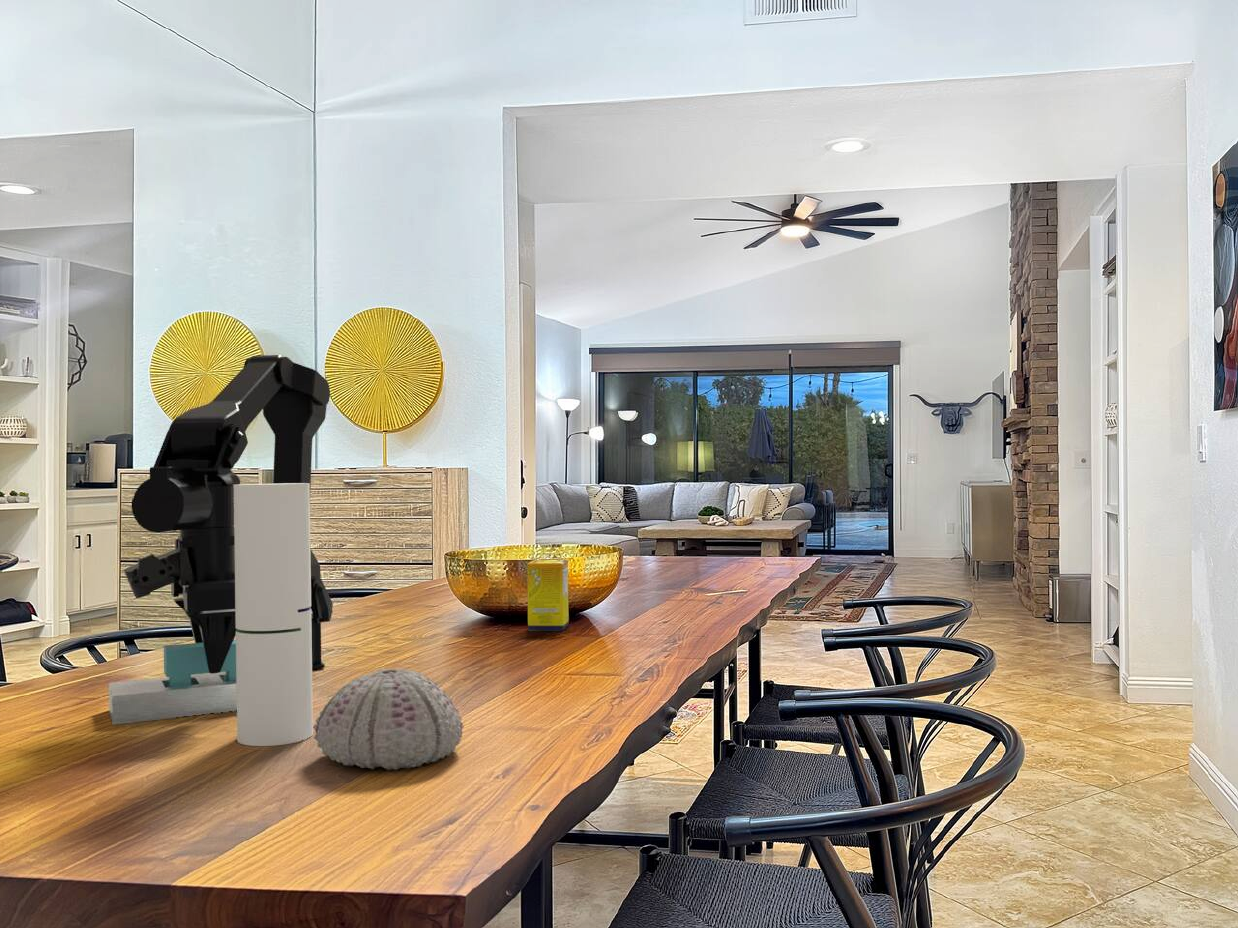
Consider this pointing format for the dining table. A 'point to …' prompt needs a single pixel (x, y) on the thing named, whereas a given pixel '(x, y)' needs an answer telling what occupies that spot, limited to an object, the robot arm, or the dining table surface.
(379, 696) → the sea urchin shell
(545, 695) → the dining table surface
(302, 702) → the cylindrical container
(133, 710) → the rail
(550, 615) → the supplement box
